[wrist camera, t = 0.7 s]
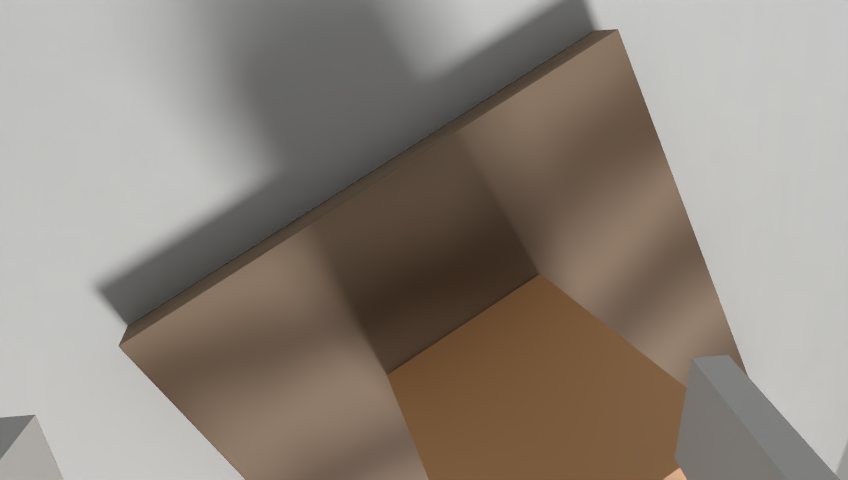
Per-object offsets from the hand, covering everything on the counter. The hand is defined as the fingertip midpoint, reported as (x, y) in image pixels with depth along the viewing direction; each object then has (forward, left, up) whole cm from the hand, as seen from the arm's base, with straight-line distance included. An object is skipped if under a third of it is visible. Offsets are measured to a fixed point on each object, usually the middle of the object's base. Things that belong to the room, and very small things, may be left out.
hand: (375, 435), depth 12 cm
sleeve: (+7, +5, -9) cm, 12 cm away
